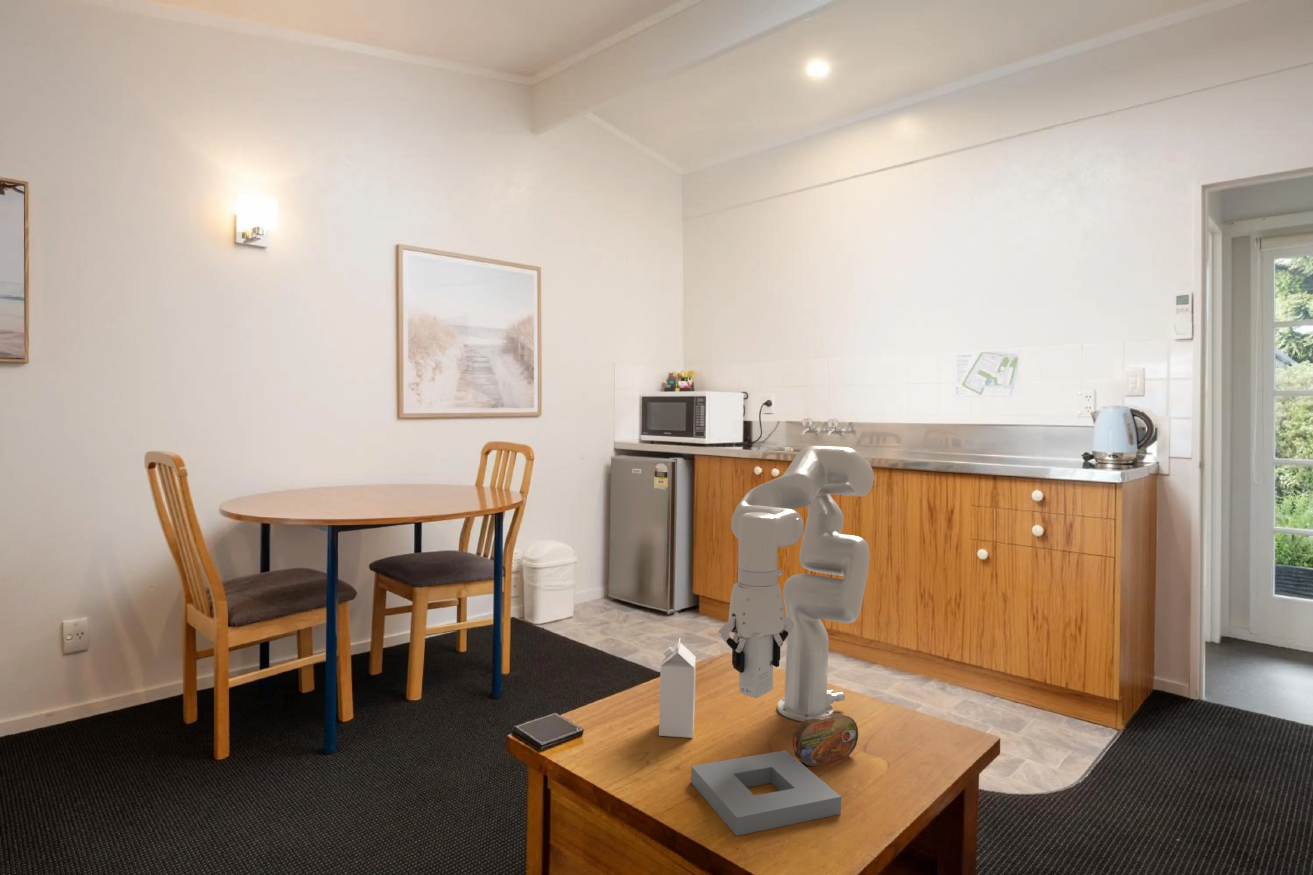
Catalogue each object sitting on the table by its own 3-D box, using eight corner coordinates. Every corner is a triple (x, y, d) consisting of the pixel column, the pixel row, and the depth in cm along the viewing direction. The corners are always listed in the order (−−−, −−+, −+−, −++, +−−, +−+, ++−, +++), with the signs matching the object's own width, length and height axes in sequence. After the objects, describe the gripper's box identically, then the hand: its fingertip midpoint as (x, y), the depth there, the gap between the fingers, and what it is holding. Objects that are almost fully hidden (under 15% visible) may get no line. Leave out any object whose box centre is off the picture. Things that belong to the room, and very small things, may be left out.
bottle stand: (785, 765, 140) (785, 750, 140) (840, 813, 124) (841, 796, 124) (690, 781, 133) (691, 765, 133) (736, 835, 116) (736, 817, 116)
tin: (799, 770, 139) (800, 726, 139) (789, 763, 142) (790, 720, 141) (858, 754, 146) (860, 713, 146) (848, 748, 149) (849, 707, 148)
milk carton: (694, 724, 158) (696, 638, 158) (692, 738, 151) (694, 648, 150) (661, 722, 159) (663, 636, 158) (658, 736, 152) (660, 646, 151)
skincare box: (757, 699, 137) (758, 636, 136) (737, 692, 140) (738, 631, 139) (774, 689, 142) (775, 628, 141) (754, 683, 145) (755, 623, 144)
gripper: (785, 568, 146) (784, 655, 147) (708, 576, 140) (707, 666, 141) (806, 577, 139) (805, 668, 140) (726, 586, 133) (725, 681, 134)
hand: (756, 666), depth 140 cm, fingers closed on skincare box, 7 cm apart
